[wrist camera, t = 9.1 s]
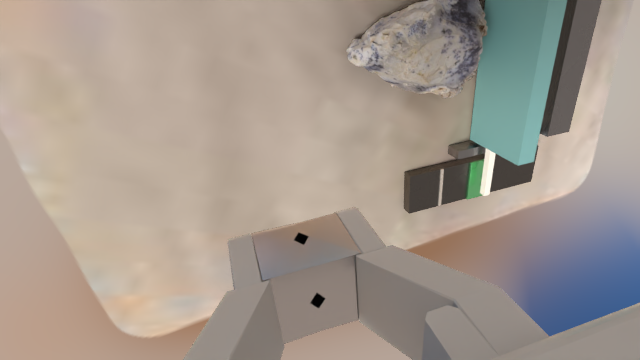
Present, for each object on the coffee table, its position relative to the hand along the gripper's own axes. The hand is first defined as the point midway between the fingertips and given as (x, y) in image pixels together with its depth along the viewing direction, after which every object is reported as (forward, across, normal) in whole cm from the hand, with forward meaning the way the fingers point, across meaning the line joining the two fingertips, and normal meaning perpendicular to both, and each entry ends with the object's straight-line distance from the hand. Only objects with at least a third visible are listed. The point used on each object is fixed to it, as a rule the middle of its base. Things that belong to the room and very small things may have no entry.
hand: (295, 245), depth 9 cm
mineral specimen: (+21, -14, 0) cm, 25 cm away
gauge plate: (+20, -21, +3) cm, 29 cm away
